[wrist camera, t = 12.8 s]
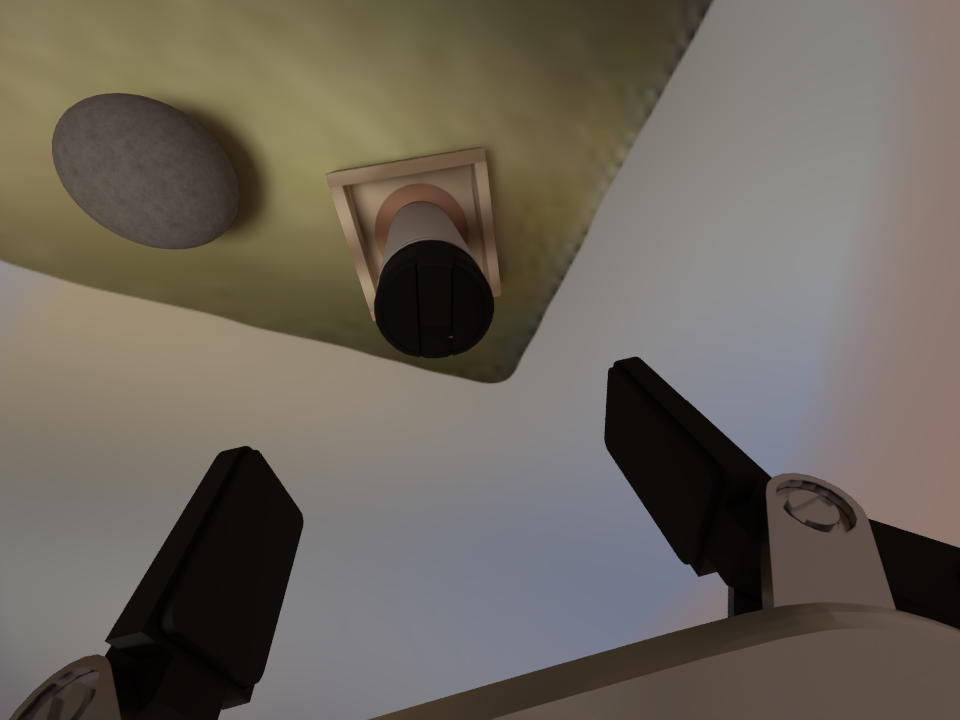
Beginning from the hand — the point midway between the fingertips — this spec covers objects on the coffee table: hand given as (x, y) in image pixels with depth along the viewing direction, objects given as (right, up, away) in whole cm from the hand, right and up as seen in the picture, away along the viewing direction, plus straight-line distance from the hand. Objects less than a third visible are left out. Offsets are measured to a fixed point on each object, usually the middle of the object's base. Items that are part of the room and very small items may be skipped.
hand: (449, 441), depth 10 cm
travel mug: (-5, +15, +25) cm, 30 cm away
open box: (-5, +15, +26) cm, 31 cm away
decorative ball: (-24, +18, +21) cm, 36 cm away
